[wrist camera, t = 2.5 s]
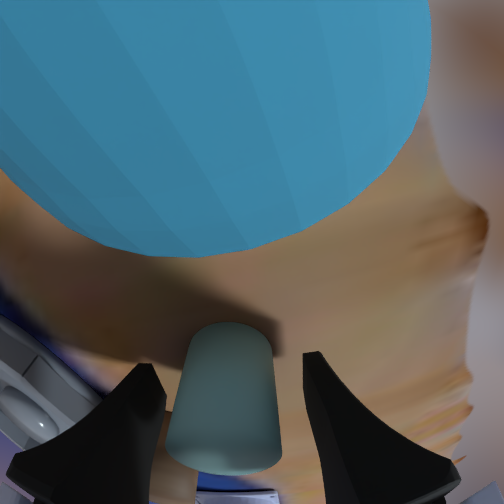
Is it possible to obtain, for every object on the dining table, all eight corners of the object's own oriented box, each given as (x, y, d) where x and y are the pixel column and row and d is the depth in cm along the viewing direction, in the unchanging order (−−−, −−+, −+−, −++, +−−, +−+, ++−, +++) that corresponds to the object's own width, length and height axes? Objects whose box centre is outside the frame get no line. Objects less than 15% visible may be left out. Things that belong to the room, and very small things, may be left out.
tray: (169, 476, 17) (164, 502, 14) (32, 440, 18) (24, 456, 15) (57, 306, 11) (25, 340, 8) (-58, 305, 11) (-75, 320, 9)
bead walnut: (209, 442, 14) (202, 509, 10) (157, 439, 14) (143, 501, 10) (194, 412, 13) (181, 490, 8) (135, 409, 13) (113, 478, 8)
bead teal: (274, 378, 12) (283, 472, 7) (199, 383, 12) (184, 473, 7) (268, 317, 11) (279, 423, 6) (179, 325, 11) (147, 424, 6)
